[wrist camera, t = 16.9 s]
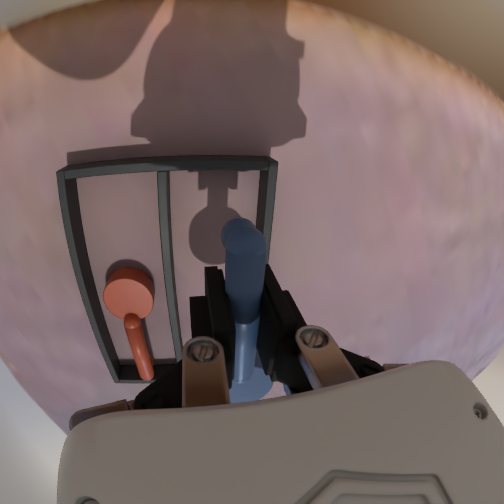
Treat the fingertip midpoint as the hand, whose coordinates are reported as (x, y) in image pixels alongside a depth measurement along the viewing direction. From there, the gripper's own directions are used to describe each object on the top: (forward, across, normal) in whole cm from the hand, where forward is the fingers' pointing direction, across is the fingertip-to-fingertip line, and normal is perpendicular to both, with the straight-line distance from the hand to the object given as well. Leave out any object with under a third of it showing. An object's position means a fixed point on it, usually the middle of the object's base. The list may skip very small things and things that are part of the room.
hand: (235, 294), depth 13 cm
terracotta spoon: (+9, +7, +9) cm, 14 cm away
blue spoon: (0, 0, +2) cm, 2 cm away
